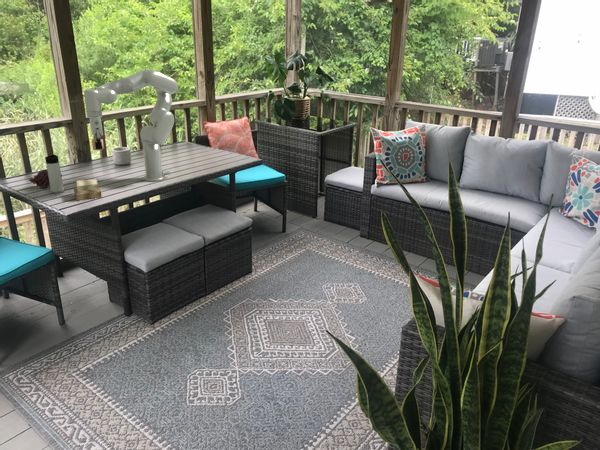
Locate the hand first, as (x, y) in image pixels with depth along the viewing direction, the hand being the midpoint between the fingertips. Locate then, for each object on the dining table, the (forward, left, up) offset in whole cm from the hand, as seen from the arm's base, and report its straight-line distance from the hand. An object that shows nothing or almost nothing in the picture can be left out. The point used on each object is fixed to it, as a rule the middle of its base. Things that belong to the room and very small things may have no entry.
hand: (98, 147), depth 259 cm
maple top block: (+9, +7, -20) cm, 23 cm away
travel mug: (+23, -7, -24) cm, 34 cm away
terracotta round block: (0, 0, -1) cm, 1 cm away
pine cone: (+27, -19, -24) cm, 41 cm away
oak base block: (+9, +7, -24) cm, 27 cm away
